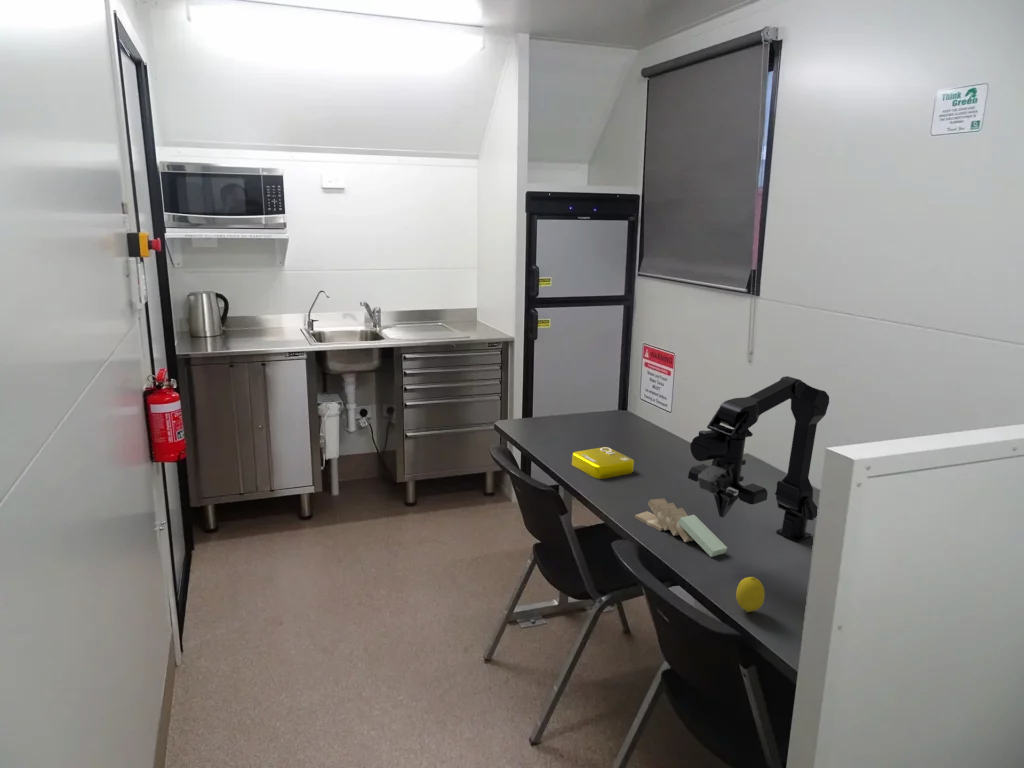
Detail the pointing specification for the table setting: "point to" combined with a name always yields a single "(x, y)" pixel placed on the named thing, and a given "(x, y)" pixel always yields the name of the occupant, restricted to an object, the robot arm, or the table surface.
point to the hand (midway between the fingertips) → (722, 516)
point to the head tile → (702, 535)
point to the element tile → (602, 462)
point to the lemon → (750, 594)
